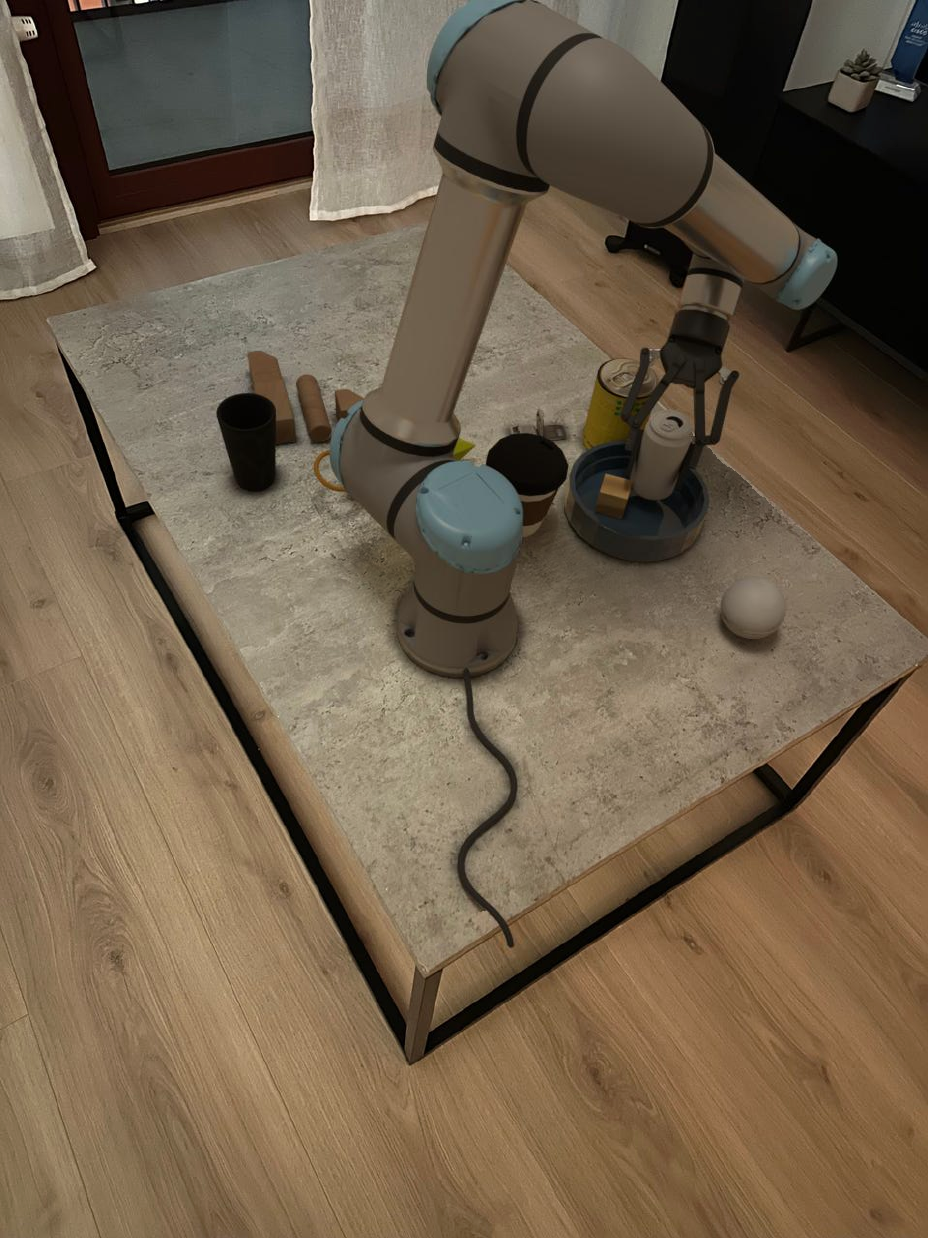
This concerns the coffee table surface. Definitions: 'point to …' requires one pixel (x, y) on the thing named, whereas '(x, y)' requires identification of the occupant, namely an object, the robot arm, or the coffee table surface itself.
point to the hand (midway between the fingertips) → (652, 483)
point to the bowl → (633, 509)
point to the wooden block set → (274, 389)
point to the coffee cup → (530, 473)
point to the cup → (249, 439)
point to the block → (613, 496)
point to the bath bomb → (753, 607)
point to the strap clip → (540, 428)
